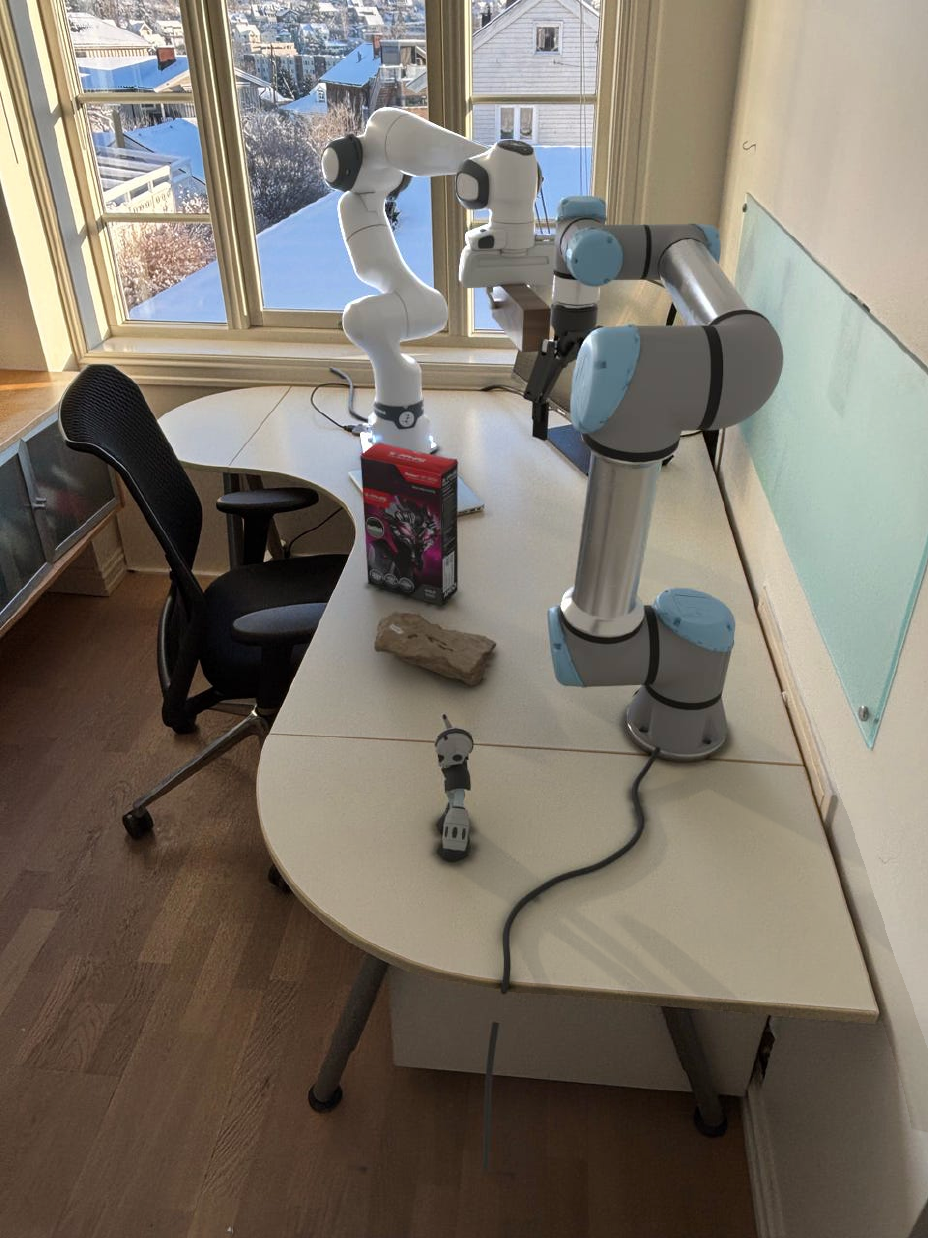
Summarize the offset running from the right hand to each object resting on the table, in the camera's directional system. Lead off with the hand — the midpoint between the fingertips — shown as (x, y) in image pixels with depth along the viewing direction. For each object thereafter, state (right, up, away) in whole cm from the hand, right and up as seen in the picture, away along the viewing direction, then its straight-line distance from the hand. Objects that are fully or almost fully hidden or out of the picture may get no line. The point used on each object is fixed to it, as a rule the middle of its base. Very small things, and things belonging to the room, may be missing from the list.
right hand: (565, 427), depth 159 cm
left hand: (-8, +30, +26) cm, 41 cm away
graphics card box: (-27, -27, +17) cm, 43 cm away
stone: (-23, -40, -2) cm, 47 cm away
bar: (-7, +23, +22) cm, 32 cm away
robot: (-19, -63, -35) cm, 74 cm away
